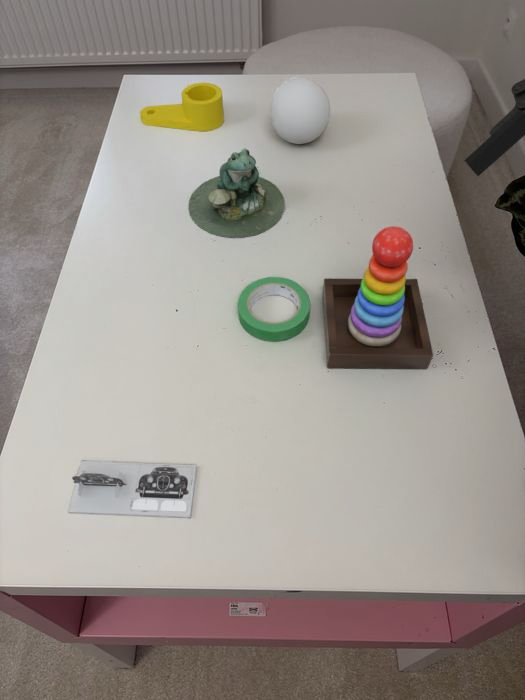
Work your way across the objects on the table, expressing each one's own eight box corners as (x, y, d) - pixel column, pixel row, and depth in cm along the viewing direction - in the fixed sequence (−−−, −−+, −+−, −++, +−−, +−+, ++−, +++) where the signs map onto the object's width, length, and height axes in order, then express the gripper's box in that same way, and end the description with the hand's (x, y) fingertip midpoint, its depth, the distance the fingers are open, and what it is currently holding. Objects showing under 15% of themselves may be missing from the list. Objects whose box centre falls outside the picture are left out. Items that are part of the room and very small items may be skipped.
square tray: (426, 369, 75) (433, 355, 72) (327, 368, 75) (329, 354, 72) (412, 294, 83) (417, 278, 80) (322, 293, 84) (324, 278, 81)
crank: (225, 109, 115) (223, 83, 110) (222, 131, 110) (220, 104, 105) (145, 108, 115) (139, 81, 110) (138, 130, 111) (132, 102, 106)
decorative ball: (303, 116, 113) (306, 59, 103) (339, 142, 107) (346, 85, 98) (258, 135, 109) (257, 78, 99) (293, 163, 103) (295, 105, 94)
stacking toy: (408, 322, 79) (442, 227, 64) (385, 357, 75) (414, 266, 60) (362, 300, 82) (384, 204, 67) (337, 333, 78) (354, 240, 63)
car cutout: (68, 513, 63) (56, 500, 60) (82, 462, 67) (71, 447, 64) (190, 518, 63) (185, 506, 59) (196, 466, 67) (192, 452, 63)
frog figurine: (214, 250, 89) (207, 195, 80) (173, 192, 99) (163, 136, 89) (302, 217, 94) (306, 161, 85) (256, 164, 103) (254, 108, 94)
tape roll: (229, 298, 83) (227, 287, 81) (292, 279, 85) (293, 268, 83) (253, 351, 77) (252, 340, 75) (320, 329, 79) (322, 318, 77)
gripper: (889, 123, 37) (605, 311, 47) (636, -11, 51) (457, 155, 60) (911, 58, 32) (585, 285, 41) (622, -72, 46) (428, 121, 55)
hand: (508, 208), depth 51 cm, fingers open, 13 cm apart
